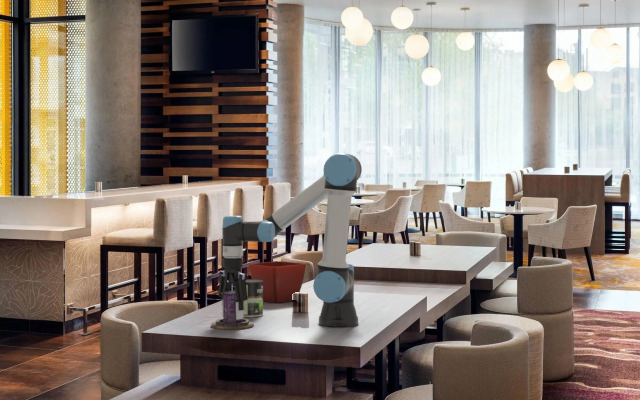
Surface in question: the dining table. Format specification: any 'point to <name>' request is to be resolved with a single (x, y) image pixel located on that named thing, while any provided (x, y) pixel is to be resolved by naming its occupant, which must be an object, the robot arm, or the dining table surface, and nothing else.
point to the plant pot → (278, 279)
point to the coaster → (232, 325)
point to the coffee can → (253, 298)
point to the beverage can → (230, 307)
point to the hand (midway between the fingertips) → (232, 317)
